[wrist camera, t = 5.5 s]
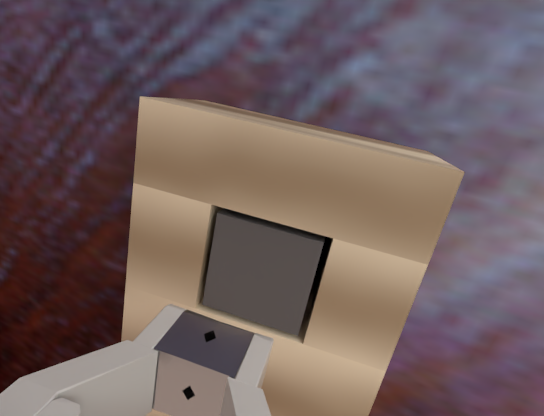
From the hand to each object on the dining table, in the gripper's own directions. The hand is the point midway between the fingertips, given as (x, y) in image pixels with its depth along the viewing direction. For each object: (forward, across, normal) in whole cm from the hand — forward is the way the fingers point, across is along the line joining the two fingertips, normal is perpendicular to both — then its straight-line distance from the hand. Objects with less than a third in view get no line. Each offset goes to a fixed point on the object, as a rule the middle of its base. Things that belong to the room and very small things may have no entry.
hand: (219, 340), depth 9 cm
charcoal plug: (+10, 0, +1) cm, 11 cm away
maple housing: (+11, 0, +7) cm, 13 cm away
